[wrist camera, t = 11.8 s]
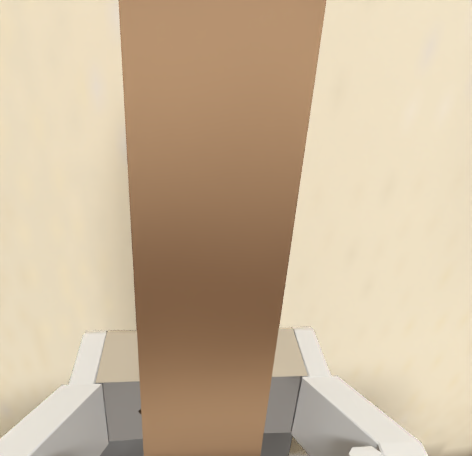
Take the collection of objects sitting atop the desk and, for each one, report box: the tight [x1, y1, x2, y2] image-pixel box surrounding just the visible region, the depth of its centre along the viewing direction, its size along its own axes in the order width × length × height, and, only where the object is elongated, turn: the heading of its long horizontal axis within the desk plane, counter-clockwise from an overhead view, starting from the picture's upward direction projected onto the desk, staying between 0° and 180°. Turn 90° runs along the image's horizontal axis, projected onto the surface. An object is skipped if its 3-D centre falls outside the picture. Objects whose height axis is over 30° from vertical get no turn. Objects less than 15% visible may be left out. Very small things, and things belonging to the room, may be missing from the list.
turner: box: [100, 0, 326, 456], centre depth 11 cm, size 22×6×4 cm, turn 176°
